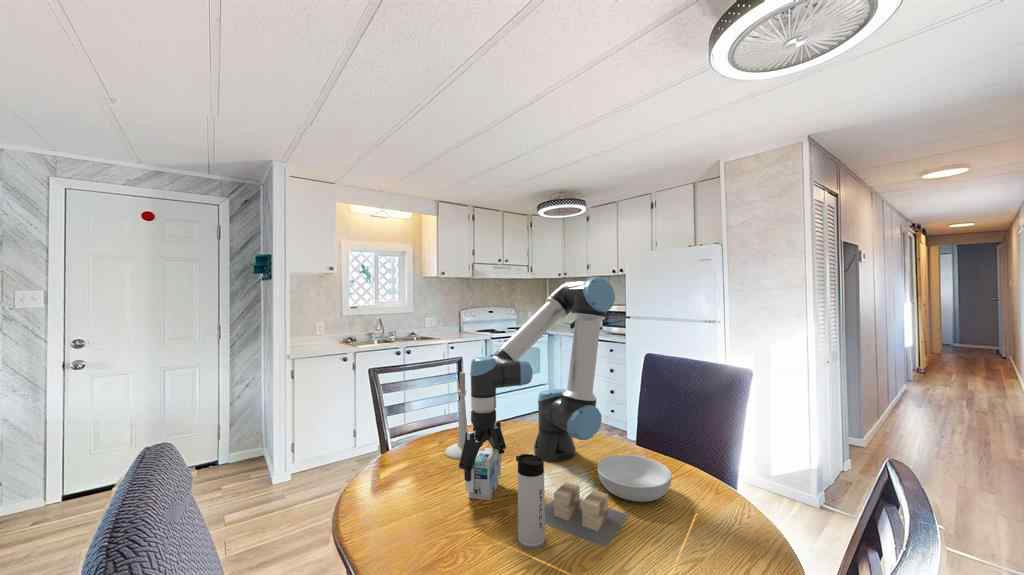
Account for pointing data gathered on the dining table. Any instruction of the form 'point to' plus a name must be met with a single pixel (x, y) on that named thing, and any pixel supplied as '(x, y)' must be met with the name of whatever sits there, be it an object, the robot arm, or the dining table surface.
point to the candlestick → (457, 449)
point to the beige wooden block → (566, 501)
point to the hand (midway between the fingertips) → (483, 482)
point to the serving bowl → (634, 477)
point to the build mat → (577, 529)
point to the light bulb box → (485, 474)
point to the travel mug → (531, 501)
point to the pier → (595, 510)
